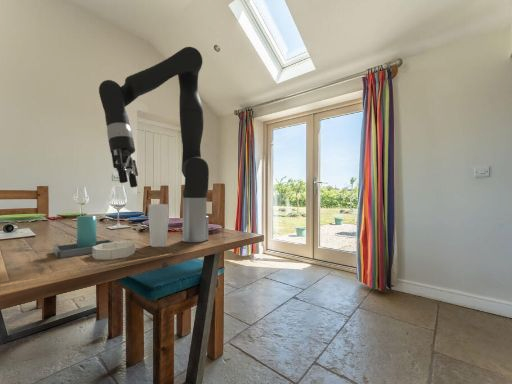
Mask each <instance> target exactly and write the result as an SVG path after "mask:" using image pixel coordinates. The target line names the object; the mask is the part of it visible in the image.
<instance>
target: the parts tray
mask: <svg viewBox="0 0 512 384" xmlns="http://www.w3.org/2000/svg"><path fill="white" fill-rule="evenodd" d="M111 242H115V241H114V240H112V239H103V240H97V245H99V244H103V243H111ZM53 254H54V256H55V258H57V259H65V258H71V257H77V256H79V257H80V256H85V255H92V247H86V248H78V249H77V242H76V243H69V244H60V245H53Z"/></svg>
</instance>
